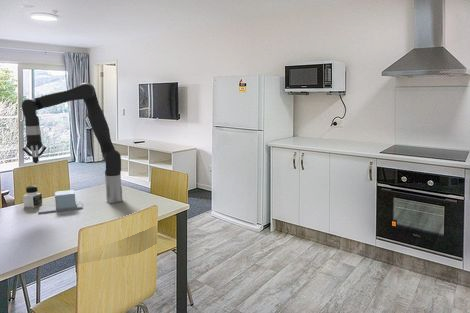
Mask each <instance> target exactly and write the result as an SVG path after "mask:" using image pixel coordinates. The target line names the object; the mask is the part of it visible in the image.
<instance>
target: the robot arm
mask: <svg viewBox="0 0 470 313" xmlns="http://www.w3.org/2000/svg"><path fill="white" fill-rule="evenodd" d="M77 100H80V101H81V100H83V101H84V103H85V107H86V109H87V115H88V121H89V124H90V126H91V129H92V131H93V134H94V136H95V138H96V139H97V142H98V144H99V147H100V151H101V154H102V158H103V160H104V161H105V169H104V170H105V171H104V176H105V178H104V179H105V193H106V196H105V197H106V203H108V204H116V203H121V202H123V186H122V178H121V177H122V176H121V175H122V172H121V171H122V157H121V153H120V152H119V151H118V150H116V149H115V146H114V144H113V142H112V138H111V134H110V128H109V124H108V122H107V119H106V116H105V114H104V112H103V110H102V107H101V106H100V103H99V101H98V96H97V92H96V89H95V87H94V85H93V84H92V83H90V82H83V83H80V84H79V85H78V86H75V87H73V88H70V89H67V90H64V91H63V90H62V91H57V92H52V93H48V94H47V93H46V94H44V95H41V96H39V97H34V98H26V99H24V100H23V101H22V103H21V109H22V114H23V117H24V120H25V121H24V123H25V139H26V144H25V146H24V147H22V148H21V149H22V151H23V152H24V153H25V154H26V155H27V156H28V157H31V158H32V162H33V164H38V163H39V157H40V156H42V155H43V153H44V152H45V151H47V150H46V149H47V148H48V147H47V146H46V145H43V143H42V135H41V134H42V132H41V127H40V126H41V125H40V119H39V116H38V115H37V111H39V110H43V109H44V108H50V107H54V106H57V105H61V104H64V103H68V102H71V101H77ZM29 150H30V151H29ZM40 150H41V151H40ZM39 151H40V152H39Z"/></svg>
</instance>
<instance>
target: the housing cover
mask: <svg viewBox="0 0 470 313" xmlns="http://www.w3.org/2000/svg"><path fill="white" fill-rule="evenodd" d="M75 192H76V191H75V189H69V190H60V191H57V190H56V191H55V192H54V198H55V199H54V201H55V205H56V209H64V208H72V207H76V203H75V201H76V193H75Z"/></svg>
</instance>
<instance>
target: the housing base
mask: <svg viewBox="0 0 470 313" xmlns="http://www.w3.org/2000/svg"><path fill="white" fill-rule="evenodd" d="M75 203H76V207H72V208H64V209H56V204H47V205H39V207H38V213H37V214H38V215H40V214H49V213H57V212H58V211H59V212H65V211H67V212H68V211H73V210H81V209H83V202H82V201H76V200H75Z"/></svg>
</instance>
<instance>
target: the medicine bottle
mask: <svg viewBox="0 0 470 313" xmlns="http://www.w3.org/2000/svg"><path fill="white" fill-rule="evenodd" d="M25 190H26V194H24V195H22V199H23V207H24V208H37V207H40V206H42V205H43V196H42V192H39V191H38V186H37V185H29V186H27V187H25Z"/></svg>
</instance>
